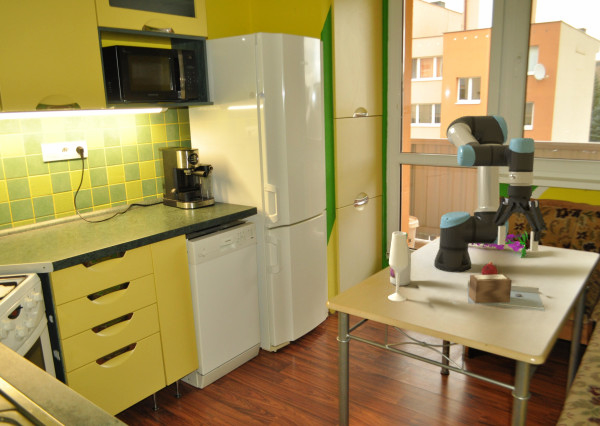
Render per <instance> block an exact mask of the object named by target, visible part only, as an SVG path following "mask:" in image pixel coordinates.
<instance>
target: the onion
mask: <svg viewBox="0 0 600 426" xmlns="http://www.w3.org/2000/svg"><path fill="white" fill-rule="evenodd" d="M494 274H499V271H498V268H497V267H496V265H494V264H493V262H492V261H490V262H488V263H487V264H485V265H484V266H483V267H482V269H481V275H494Z"/></svg>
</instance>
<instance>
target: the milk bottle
mask: <svg viewBox="0 0 600 426" xmlns="http://www.w3.org/2000/svg"><path fill="white" fill-rule="evenodd" d="M405 233H406V237H407V240H408V239H409V238H408V236H409V235H408V234H409V233H408V232H405ZM407 253H408V266H407V267H406V268H405V269H404V270H403V271H402V272H400V284H399V287H401V286H402V287H403V286H408V285H409V284H410V283H411V275H412V274H411V271H412V270H411V269H412V267H411V266H412V264H411V263H412V254H411V249H410V247H409V244H408V243H407ZM396 273H397V272H395V271H394V270H393V269H392V268H391V267H390V273H389V274H390V275H389V276H390V277H389V281H390V283H391V284H392V285H394V286H396Z"/></svg>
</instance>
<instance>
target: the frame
mask: <svg viewBox="0 0 600 426" xmlns="http://www.w3.org/2000/svg"><path fill="white" fill-rule="evenodd" d="M469 280H470V286H469V297H470V298H471V299H472V300H473V301H474V302H475V303H499V302H510V294H511V284H512V279H511V278H510V277H508V276H507V275H506V274H502V273H500V274H499V273H498V274H494V275H482V274H470V275H469Z"/></svg>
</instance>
